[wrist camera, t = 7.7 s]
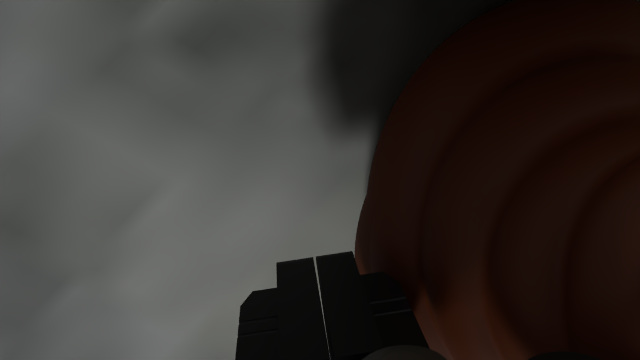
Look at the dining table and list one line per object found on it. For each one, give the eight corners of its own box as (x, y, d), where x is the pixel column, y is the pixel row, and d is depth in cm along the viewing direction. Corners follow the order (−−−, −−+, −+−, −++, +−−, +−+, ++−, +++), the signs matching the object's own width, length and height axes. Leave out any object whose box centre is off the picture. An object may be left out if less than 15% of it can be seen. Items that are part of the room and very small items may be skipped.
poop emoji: (405, -46, 13) (688, -142, 4) (755, 34, 14) (1576, 94, 5) (313, 354, 16) (366, 820, 7) (613, 396, 17) (998, 845, 8)
